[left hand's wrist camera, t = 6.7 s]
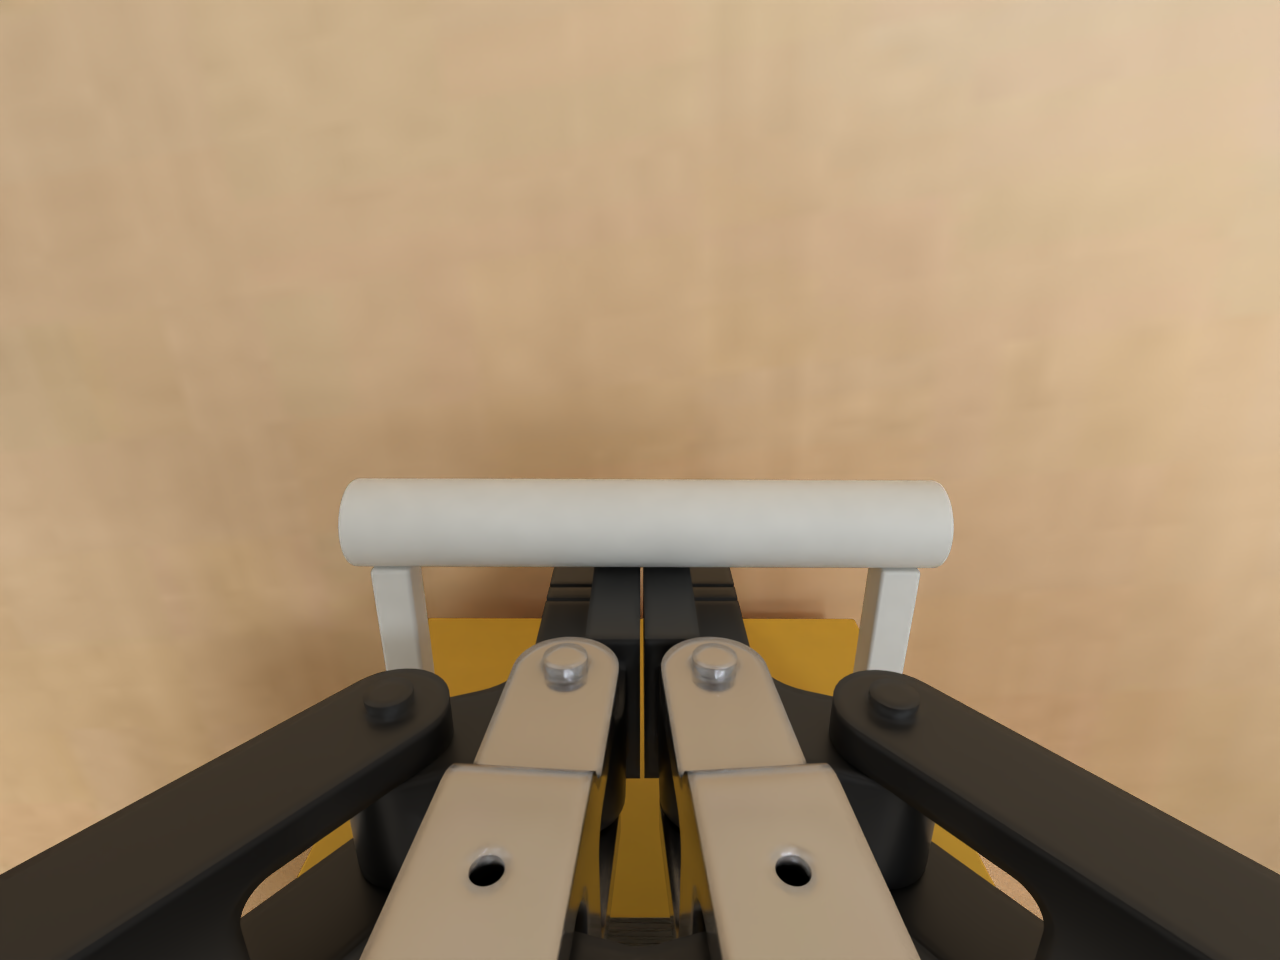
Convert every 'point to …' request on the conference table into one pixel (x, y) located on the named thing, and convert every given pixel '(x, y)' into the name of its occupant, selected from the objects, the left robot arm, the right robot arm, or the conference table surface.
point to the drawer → (642, 537)
